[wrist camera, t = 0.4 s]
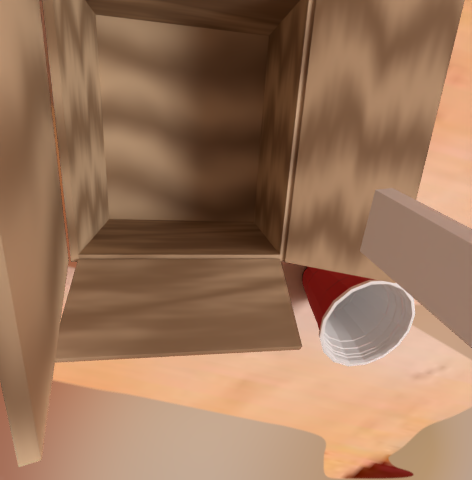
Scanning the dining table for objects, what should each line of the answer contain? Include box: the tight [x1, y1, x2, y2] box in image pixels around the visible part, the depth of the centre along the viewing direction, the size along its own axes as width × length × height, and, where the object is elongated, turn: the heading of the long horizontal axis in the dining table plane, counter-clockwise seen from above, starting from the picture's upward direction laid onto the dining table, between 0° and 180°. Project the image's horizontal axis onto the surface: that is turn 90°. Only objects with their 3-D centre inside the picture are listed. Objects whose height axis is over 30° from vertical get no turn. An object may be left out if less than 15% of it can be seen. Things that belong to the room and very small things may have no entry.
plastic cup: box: [302, 266, 415, 366], centre depth 38 cm, size 11×11×12 cm
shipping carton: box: [42, 0, 464, 362], centre depth 26 cm, size 30×26×19 cm
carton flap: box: [0, 0, 69, 467], centre depth 14 cm, size 20×17×1 cm
